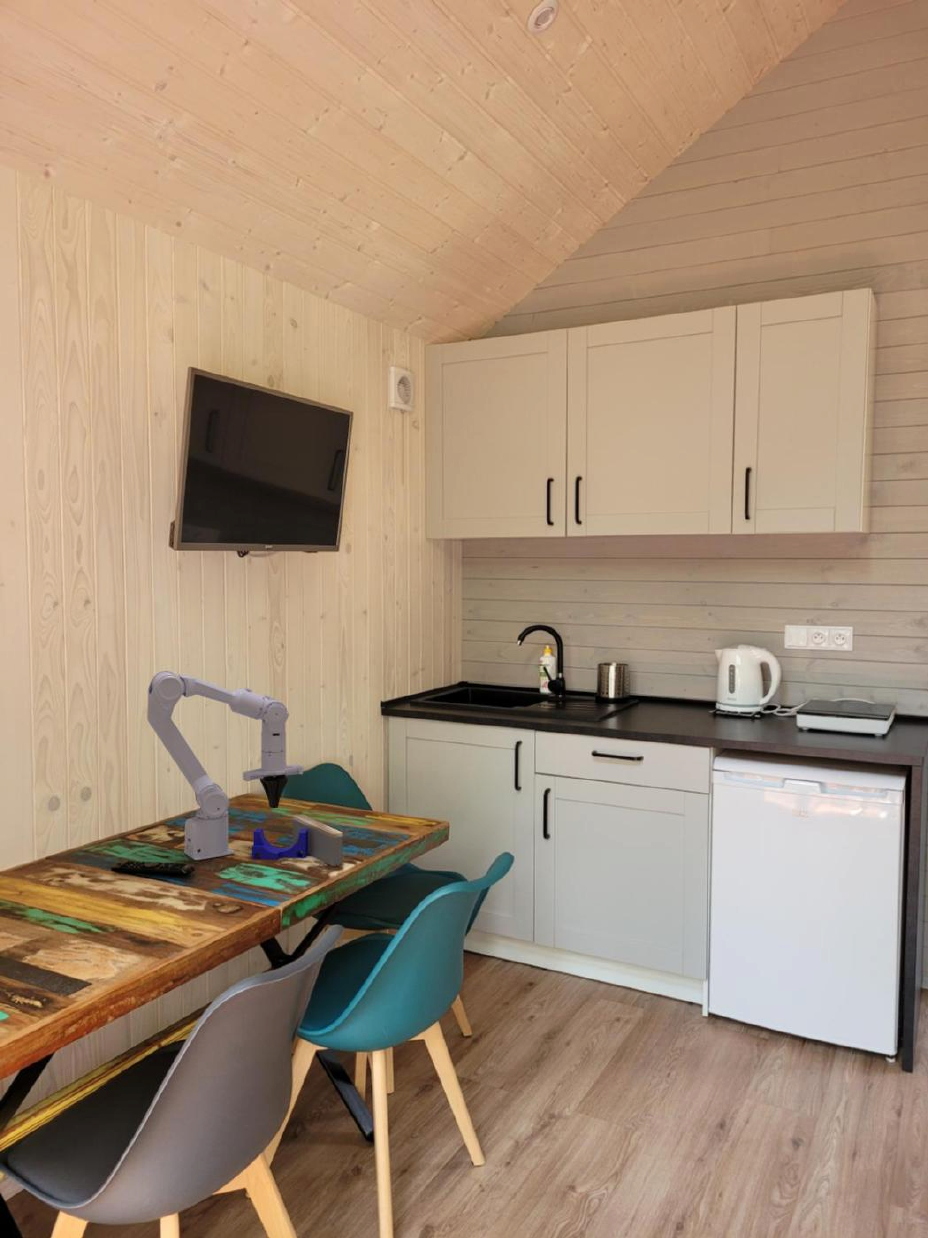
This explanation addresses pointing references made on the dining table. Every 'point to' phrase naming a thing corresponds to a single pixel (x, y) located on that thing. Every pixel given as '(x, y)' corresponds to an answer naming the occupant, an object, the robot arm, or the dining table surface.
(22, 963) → the dining table surface
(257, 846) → the blue half-round bracket
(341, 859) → the wall board
